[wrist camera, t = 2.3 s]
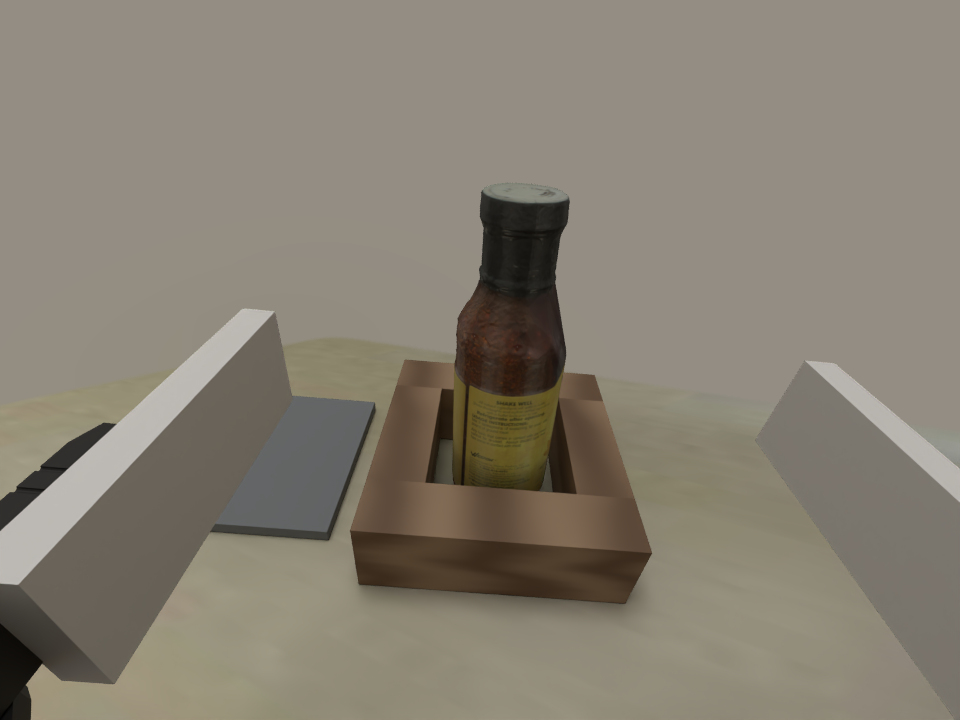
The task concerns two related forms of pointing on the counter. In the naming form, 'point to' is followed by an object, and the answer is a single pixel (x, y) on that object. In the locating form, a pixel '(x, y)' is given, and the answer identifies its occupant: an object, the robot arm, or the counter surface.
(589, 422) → the rectangular frame
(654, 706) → the counter surface
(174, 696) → the counter surface
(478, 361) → the sauce bottle
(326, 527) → the mat
